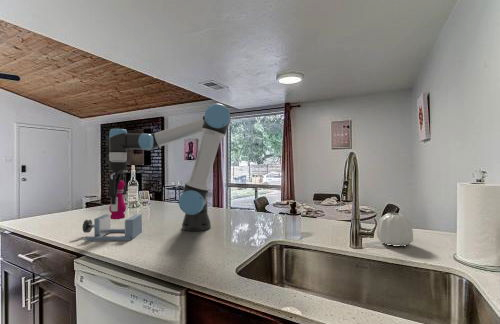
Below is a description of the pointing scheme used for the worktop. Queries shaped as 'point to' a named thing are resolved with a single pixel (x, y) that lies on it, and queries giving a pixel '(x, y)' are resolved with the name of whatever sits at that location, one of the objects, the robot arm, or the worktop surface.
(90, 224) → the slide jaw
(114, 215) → the pepper mill
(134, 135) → the robot arm
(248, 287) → the worktop surface
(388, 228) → the white pumpkin
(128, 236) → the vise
